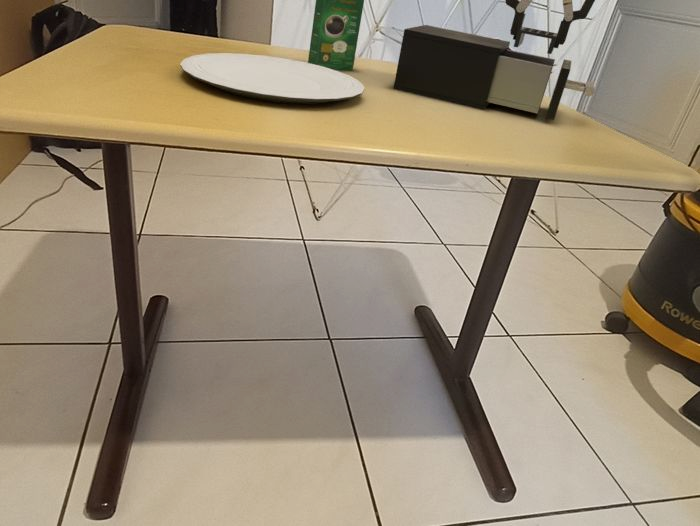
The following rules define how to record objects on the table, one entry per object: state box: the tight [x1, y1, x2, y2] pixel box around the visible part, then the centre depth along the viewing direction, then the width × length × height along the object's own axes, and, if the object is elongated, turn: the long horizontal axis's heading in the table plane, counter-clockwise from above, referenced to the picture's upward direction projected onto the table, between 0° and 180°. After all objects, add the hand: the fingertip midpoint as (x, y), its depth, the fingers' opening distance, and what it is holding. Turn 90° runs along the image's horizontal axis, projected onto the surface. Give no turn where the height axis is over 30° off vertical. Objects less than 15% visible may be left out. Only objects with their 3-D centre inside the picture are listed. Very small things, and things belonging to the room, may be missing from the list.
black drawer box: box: [393, 24, 511, 111], centre depth 90 cm, size 15×14×9 cm
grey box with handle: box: [487, 49, 595, 121], centre depth 87 cm, size 18×12×7 cm
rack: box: [513, 26, 558, 55], centre depth 85 cm, size 6×8×2 cm
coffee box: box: [307, 0, 365, 72], centre depth 92 cm, size 8×3×13 cm, turn 125°
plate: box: [179, 52, 365, 105], centre depth 77 cm, size 25×25×2 cm
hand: (535, 43), depth 85 cm, fingers closed on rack, 5 cm apart
